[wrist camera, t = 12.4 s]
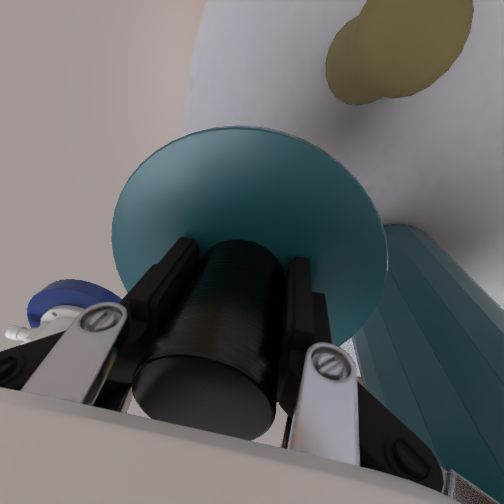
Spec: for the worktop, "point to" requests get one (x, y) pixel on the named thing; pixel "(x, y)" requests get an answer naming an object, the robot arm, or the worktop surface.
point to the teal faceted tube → (438, 358)
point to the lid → (242, 266)
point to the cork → (396, 48)
